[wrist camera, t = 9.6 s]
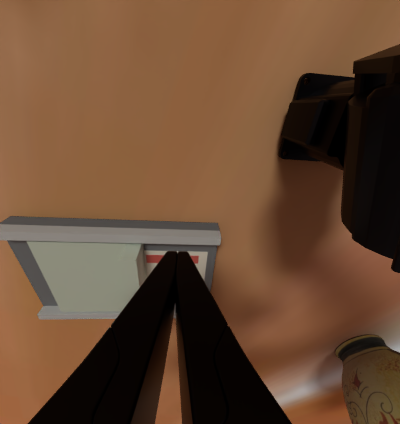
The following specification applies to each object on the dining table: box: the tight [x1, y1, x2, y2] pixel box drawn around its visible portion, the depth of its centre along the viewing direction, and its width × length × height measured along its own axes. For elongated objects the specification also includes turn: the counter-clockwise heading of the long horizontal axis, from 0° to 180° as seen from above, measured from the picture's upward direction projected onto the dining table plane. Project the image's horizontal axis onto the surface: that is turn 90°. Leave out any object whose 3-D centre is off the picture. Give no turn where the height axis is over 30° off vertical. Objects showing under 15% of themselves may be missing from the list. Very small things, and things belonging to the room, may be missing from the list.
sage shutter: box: [27, 241, 147, 312], centre depth 21 cm, size 11×11×3 cm
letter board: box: [0, 216, 221, 319], centre depth 23 cm, size 22×14×3 cm, turn 86°
